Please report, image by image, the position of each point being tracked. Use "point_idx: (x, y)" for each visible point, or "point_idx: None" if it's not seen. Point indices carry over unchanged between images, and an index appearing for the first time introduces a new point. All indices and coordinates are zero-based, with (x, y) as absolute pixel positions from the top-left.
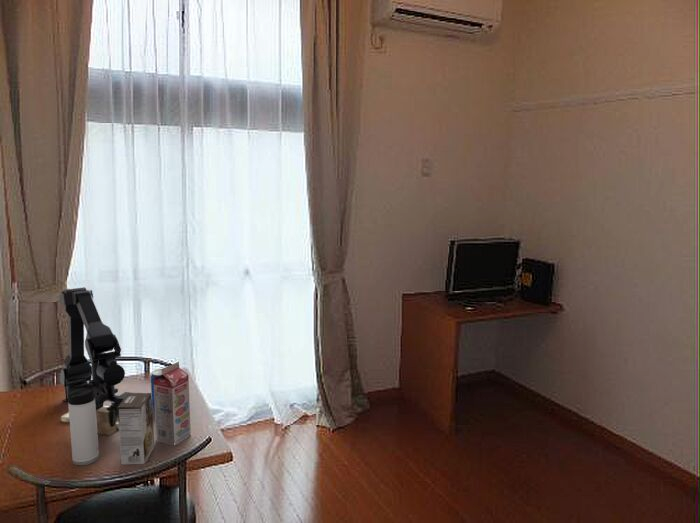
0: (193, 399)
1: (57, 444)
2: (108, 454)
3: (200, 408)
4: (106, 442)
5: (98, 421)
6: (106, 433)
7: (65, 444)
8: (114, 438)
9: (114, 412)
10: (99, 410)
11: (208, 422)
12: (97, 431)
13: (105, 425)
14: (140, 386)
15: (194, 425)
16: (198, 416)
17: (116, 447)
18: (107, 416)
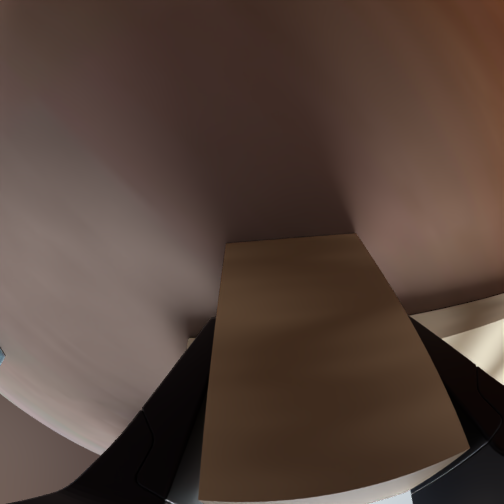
0: None
1: (500, 26)
2: (6, 27)
3: None
4: (137, 127)
5: (380, 322)
6: (256, 247)
7: (464, 19)
8: (134, 214)
9: (77, 484)
10: (414, 477)
11: (8, 398)
12: (359, 243)
13: (267, 304)
14: None
15: (9, 386)
16: (57, 426)
17: (16, 115)
18: (214, 427)
